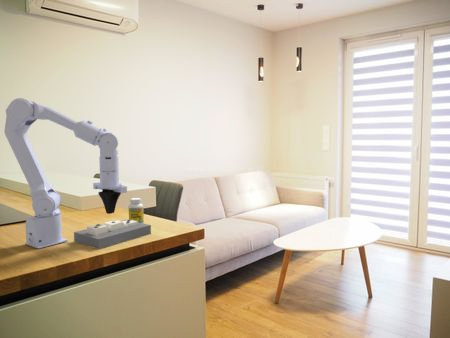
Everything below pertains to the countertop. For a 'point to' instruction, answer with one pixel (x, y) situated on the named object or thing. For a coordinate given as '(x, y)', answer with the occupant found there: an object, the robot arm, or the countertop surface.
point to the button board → (112, 236)
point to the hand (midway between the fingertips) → (110, 213)
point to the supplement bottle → (136, 210)
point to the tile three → (129, 223)
